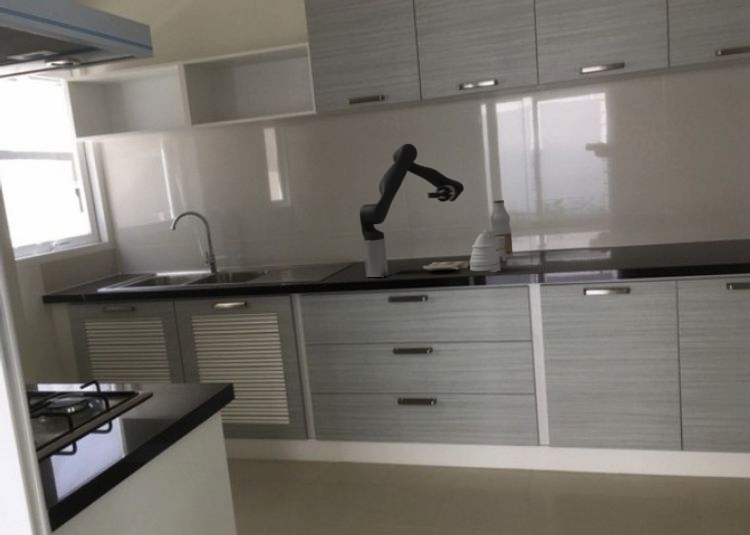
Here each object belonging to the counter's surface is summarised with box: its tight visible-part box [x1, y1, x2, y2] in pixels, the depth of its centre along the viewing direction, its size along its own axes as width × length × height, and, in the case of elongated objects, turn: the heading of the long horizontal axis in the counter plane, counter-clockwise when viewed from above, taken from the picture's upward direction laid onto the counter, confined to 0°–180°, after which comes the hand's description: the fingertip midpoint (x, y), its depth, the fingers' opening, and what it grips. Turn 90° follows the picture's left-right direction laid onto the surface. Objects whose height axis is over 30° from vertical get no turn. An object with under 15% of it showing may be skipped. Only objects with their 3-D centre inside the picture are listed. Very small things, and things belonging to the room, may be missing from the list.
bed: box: [426, 260, 470, 270], centre depth 296 cm, size 18×11×3 cm, turn 69°
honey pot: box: [469, 229, 501, 273], centre depth 281 cm, size 13×13×18 cm
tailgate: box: [422, 265, 460, 271], centre depth 284 cm, size 12×1×15 cm
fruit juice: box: [490, 199, 514, 260], centre depth 314 cm, size 9×9×28 cm
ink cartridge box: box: [488, 231, 507, 264], centre depth 304 cm, size 9×5×15 cm, turn 150°
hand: (435, 195), depth 297 cm, fingers closed
